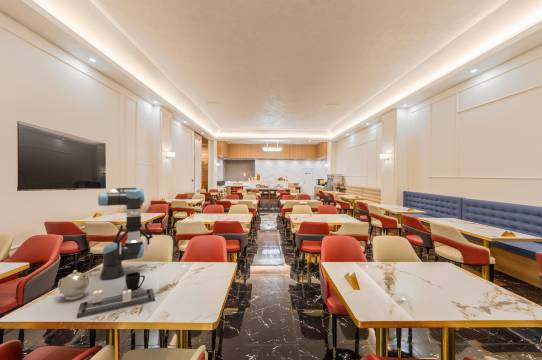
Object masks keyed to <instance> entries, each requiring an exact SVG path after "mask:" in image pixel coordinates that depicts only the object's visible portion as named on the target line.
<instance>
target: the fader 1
mask: <svg viewBox="0 0 542 360" xmlns="http://www.w3.org/2000/svg"><path fill="white" fill-rule="evenodd" d="M102 299H103V289H98V290H94V291H93V292H92V301H93V303H96V302H101V301H102Z"/></svg>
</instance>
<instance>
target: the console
mask: <svg viewBox="0 0 542 360" xmlns="http://www.w3.org/2000/svg"><path fill="white" fill-rule="evenodd" d="M153 290H154V289H153V288H147V289H143V290H139V291H132V292H131V301H129V302H124V303H123V294H119V295H114V296H108V297H102V301H101V302H96V303H93V300H89V301H87V300H86V301H84V302H80V304H79V306H78V310H77V314H76V319H81V318H85V317H89V316H93V315H98V314H102V313H108V312H111V311H115V310H119V309H125V308H128V307H133V306H138V305H143V304H146V303H151V302H155V301H156V300H155V299H156V296H155V294H154V291H153Z"/></svg>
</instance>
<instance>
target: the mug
mask: <svg viewBox="0 0 542 360" xmlns="http://www.w3.org/2000/svg"><path fill="white" fill-rule="evenodd" d="M124 276H125V285H126V290H130V289H131V292H135V291H136V290H138V289H140V288H141V286H142V285H143V283H144V281H145V280H146V279H145V278H146V276H145V275H141V273H140V272H137V271H136V272H130V273H129V272H128V273H126V275H124ZM141 277H142V281H141V282H140V280H141Z"/></svg>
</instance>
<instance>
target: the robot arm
mask: <svg viewBox="0 0 542 360" xmlns="http://www.w3.org/2000/svg"><path fill="white" fill-rule="evenodd" d="M97 197H98V198H97V203H98V204H97V205H98V206H101V207H108V206H125V207H126V224H121V225H119V230H118V232H117V233H116V235H115V237H114V238H113V243H111V244H107V245H105V246H104V247H103V249H102V256H103V257H102V268H101V271H100V273H99V279H100V280H101V281H102V280H103V281H109V280H110V281H111V280H115V279H116V280H117V279H119V278H122V277H123V276H125V268H124V267H123V264H122V262H123V261H130V260H137V259H141V258H143V256H144V252H145V251H146V252H147V251H148V246H149V245H150V240H151V239H153V235H152V233H151V231H150V230H149V228H148V224H147V222H144V223H142V216H141V215H142V206H143V204H144V203H146V201H145V194H144V189H143V188H142V187H118V188H117V187H116V188H114V189H110V190H108V191H107V192H103V193H99V194H98V196H97ZM142 227H143V228H145V231H146V232H147V234H146V233H145V232H144V231H143V230H142ZM125 228H126V230H125V232H124V233H123V234H122V235H121V233H122V231H123V230H124V229H125ZM141 235H142V236H144V238H145V241H143V239H142V238H141ZM148 235H149V236H148ZM126 236H127V240H126V241H125V242H124V243H125V244H123V243H122V240H123V239H124V238H125V237H126Z"/></svg>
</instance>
